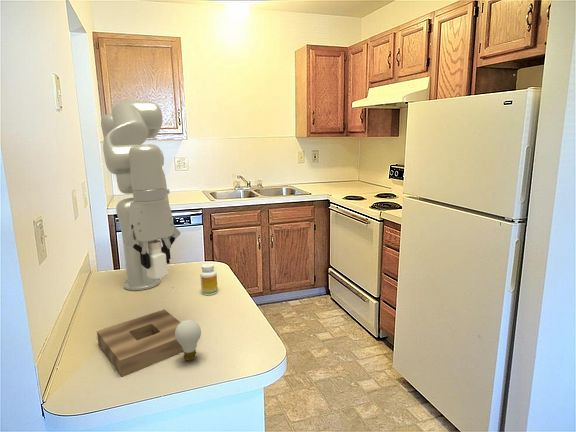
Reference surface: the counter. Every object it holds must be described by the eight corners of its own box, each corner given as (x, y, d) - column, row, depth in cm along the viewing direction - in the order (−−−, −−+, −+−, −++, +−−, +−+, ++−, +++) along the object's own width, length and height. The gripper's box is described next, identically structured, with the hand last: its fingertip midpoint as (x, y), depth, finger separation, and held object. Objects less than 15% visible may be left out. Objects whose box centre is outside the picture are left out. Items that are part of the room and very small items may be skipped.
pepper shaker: (159, 273, 104) (155, 238, 102) (169, 275, 102) (165, 240, 100) (146, 277, 101) (142, 242, 99) (156, 280, 99) (152, 244, 97)
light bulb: (179, 369, 89) (175, 329, 86) (176, 356, 94) (172, 318, 92) (205, 363, 91) (202, 323, 89) (200, 350, 96) (197, 313, 94)
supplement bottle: (220, 293, 131) (218, 265, 129) (205, 297, 128) (203, 269, 126) (213, 288, 135) (212, 261, 133) (199, 292, 132) (197, 264, 130)
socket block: (98, 345, 100) (96, 331, 99) (165, 322, 111) (164, 309, 110) (121, 376, 87) (119, 360, 86) (195, 346, 98) (193, 332, 97)
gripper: (174, 190, 105) (179, 254, 109) (109, 198, 94) (118, 269, 98) (187, 193, 100) (192, 260, 104) (119, 201, 89) (128, 277, 93)
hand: (156, 264), depth 101 cm, fingers closed on pepper shaker, 4 cm apart
